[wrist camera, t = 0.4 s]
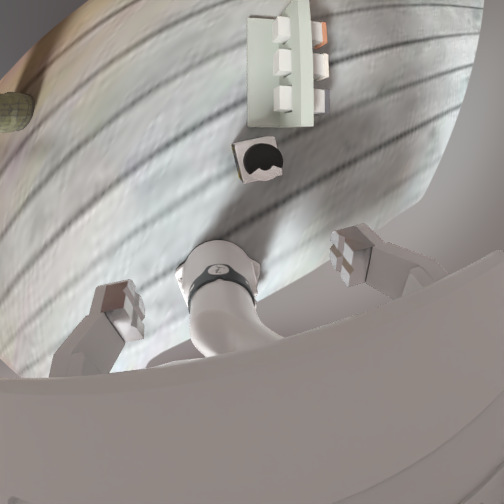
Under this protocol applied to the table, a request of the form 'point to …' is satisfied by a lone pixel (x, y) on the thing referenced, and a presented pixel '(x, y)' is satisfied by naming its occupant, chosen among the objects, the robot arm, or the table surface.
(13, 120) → the green thermos flask
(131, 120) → the table surface
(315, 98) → the button charcoal
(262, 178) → the medicine bottle
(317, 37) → the button terracotta
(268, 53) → the panel
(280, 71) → the button cream
